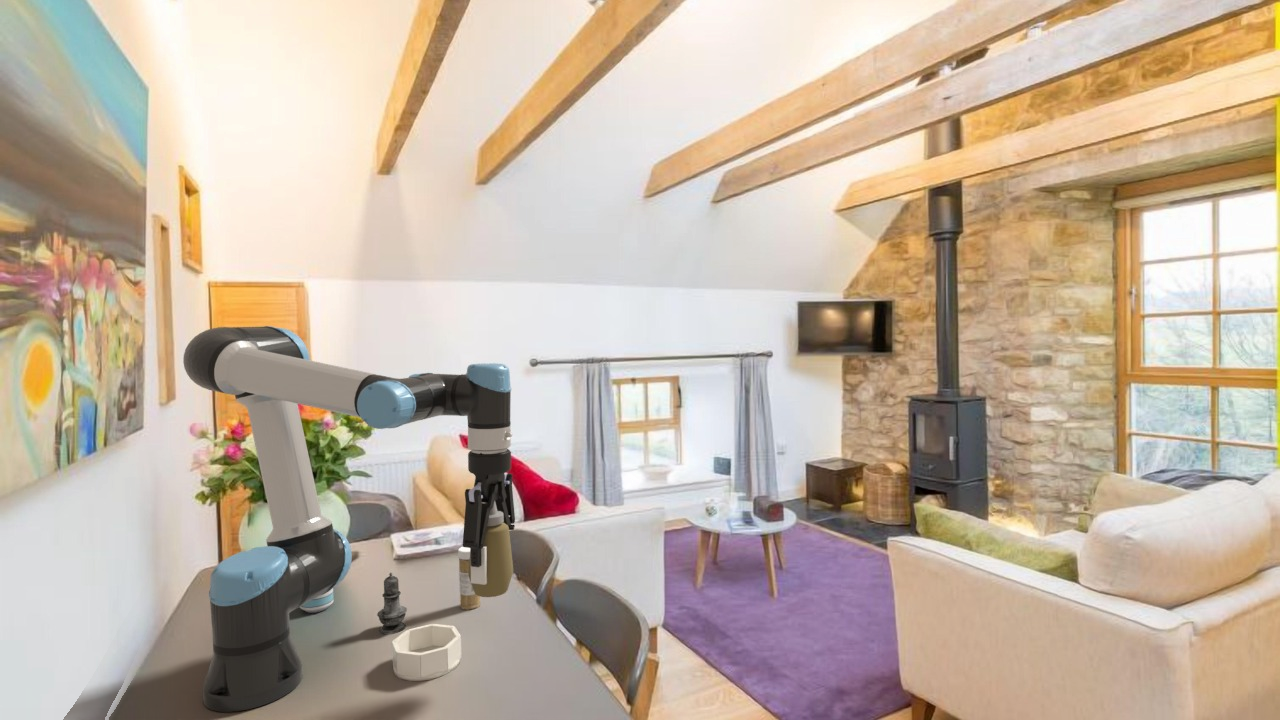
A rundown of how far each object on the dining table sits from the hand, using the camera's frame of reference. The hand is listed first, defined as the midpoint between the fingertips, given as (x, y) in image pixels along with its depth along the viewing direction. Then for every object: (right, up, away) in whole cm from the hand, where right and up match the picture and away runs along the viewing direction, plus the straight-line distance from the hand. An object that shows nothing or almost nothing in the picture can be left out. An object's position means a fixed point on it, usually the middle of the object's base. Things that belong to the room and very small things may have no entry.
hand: (490, 573), depth 117 cm
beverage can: (-46, -18, +30) cm, 58 cm away
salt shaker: (-25, -18, +19) cm, 36 cm away
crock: (-13, -18, +4) cm, 23 cm away
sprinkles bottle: (-11, -17, +30) cm, 36 cm away
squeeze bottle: (0, -4, 0) cm, 4 cm away
